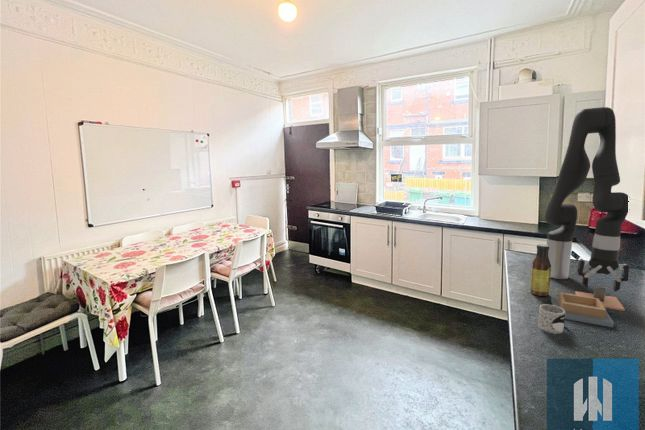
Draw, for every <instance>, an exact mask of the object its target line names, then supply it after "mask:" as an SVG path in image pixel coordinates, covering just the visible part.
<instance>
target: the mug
mask: <svg viewBox="0 0 645 430" xmlns="http://www.w3.org/2000/svg"><path fill="white" fill-rule="evenodd" d="M538 310H539V311H538V319H537V320H538V321H537V328H539V329H540V330H541V331H543V332H546V333H548V334H554V335H560V334H563V333H564V327H565V320H566V319H565V310H564V309H563V308H560V307H558V306H554V305H552V304H540V306H539V309H538Z"/></svg>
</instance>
